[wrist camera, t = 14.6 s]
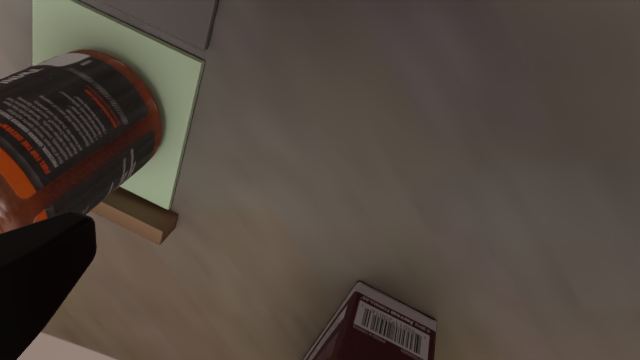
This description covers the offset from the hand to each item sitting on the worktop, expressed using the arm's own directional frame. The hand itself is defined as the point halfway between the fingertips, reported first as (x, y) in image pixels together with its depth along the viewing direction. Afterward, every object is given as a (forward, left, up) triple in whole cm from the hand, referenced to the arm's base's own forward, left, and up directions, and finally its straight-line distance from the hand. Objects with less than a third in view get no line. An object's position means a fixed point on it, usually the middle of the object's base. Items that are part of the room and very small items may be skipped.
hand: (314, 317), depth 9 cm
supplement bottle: (+13, -2, -12) cm, 18 cm away
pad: (+14, -2, -12) cm, 18 cm away
